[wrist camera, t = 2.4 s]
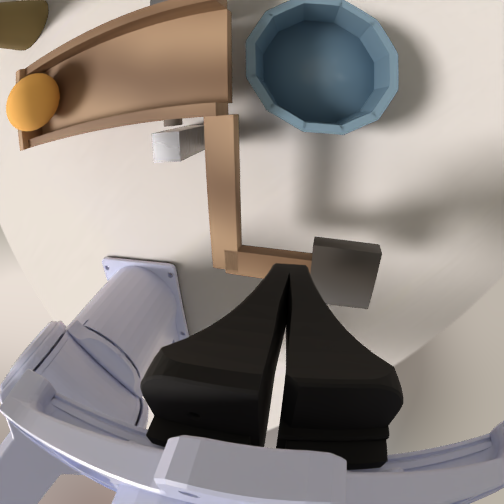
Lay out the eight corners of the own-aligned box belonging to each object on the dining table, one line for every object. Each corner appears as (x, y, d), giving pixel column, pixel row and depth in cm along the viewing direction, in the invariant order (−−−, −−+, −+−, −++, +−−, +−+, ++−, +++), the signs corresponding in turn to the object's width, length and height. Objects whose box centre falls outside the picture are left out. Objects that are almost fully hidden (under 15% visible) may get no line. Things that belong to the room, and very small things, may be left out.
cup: (377, 134, 16) (395, 141, 13) (257, 125, 18) (246, 130, 14) (377, 25, 12) (394, 8, 9) (256, 17, 14) (245, -4, 10)
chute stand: (211, 146, 19) (180, 161, 14) (190, 147, 19) (154, 162, 14) (209, 5, 13) (178, -23, 9) (187, 9, 14) (151, -16, 9)
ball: (72, 119, 14) (21, 132, 11) (44, 128, 15) (1, 142, 12) (70, 63, 12) (19, 68, 9) (42, 79, 13) (-2, 87, 10)
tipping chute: (366, 292, 16) (369, 330, 13) (74, 248, 22) (48, 267, 19) (390, 6, 8) (404, -19, 5) (49, 64, 14) (16, 67, 11)
